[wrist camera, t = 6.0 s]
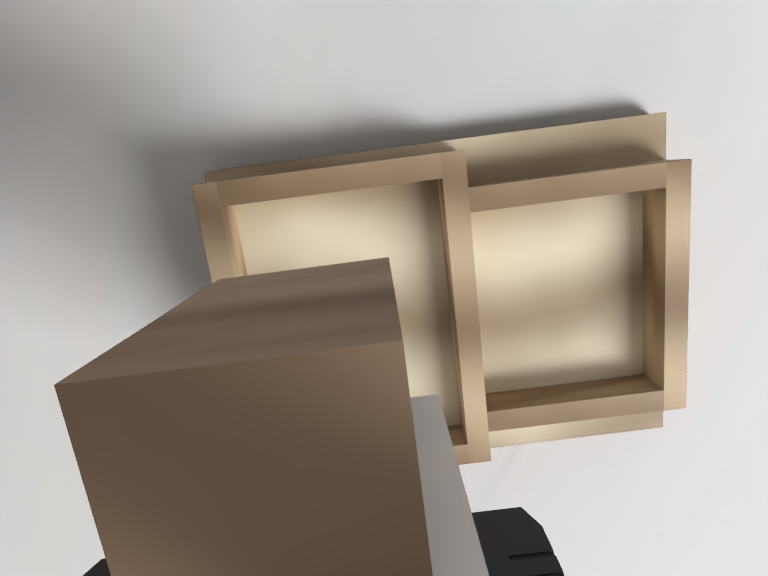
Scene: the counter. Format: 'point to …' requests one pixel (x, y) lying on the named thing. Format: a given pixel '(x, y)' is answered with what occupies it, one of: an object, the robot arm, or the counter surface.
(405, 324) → the tray
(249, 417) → the brown wooden block
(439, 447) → the robot arm
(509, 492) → the counter surface
